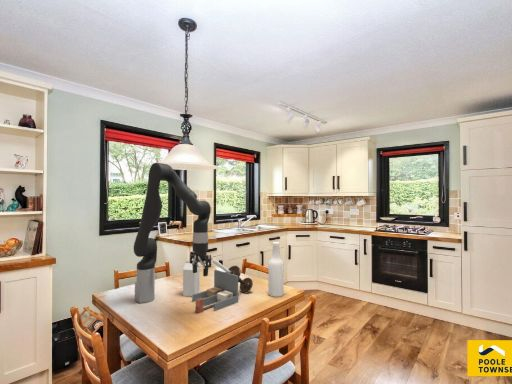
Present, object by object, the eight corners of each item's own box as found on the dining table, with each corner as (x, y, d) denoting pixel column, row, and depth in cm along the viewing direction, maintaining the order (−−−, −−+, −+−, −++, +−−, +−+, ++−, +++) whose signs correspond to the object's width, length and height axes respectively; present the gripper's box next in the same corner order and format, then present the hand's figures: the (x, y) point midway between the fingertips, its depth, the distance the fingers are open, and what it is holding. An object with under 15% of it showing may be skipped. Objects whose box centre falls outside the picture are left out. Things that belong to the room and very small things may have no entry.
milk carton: (194, 296, 156) (194, 262, 157) (182, 296, 158) (183, 262, 158) (199, 292, 163) (199, 260, 164) (188, 291, 165) (188, 259, 165)
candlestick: (238, 296, 164) (198, 268, 144) (239, 279, 172) (202, 251, 153) (253, 291, 160) (215, 262, 140) (254, 274, 168) (217, 244, 148)
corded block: (200, 314, 133) (200, 301, 133) (193, 310, 137) (193, 298, 137) (232, 302, 149) (233, 291, 149) (225, 299, 153) (225, 288, 153)
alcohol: (275, 298, 155) (275, 244, 155) (265, 293, 162) (265, 242, 162) (286, 295, 160) (286, 242, 160) (276, 290, 167) (276, 240, 168)
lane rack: (214, 311, 137) (215, 282, 137) (192, 301, 150) (192, 275, 150) (238, 302, 149) (238, 275, 149) (215, 293, 162) (215, 269, 162)
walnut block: (213, 301, 150) (213, 292, 150) (206, 298, 154) (206, 289, 154) (221, 298, 155) (221, 289, 155) (214, 295, 159) (214, 286, 159)
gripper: (185, 240, 139) (185, 273, 139) (203, 243, 130) (202, 278, 129) (197, 239, 145) (197, 270, 144) (215, 242, 135) (215, 275, 135)
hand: (200, 274), depth 137 cm, fingers open, 8 cm apart
